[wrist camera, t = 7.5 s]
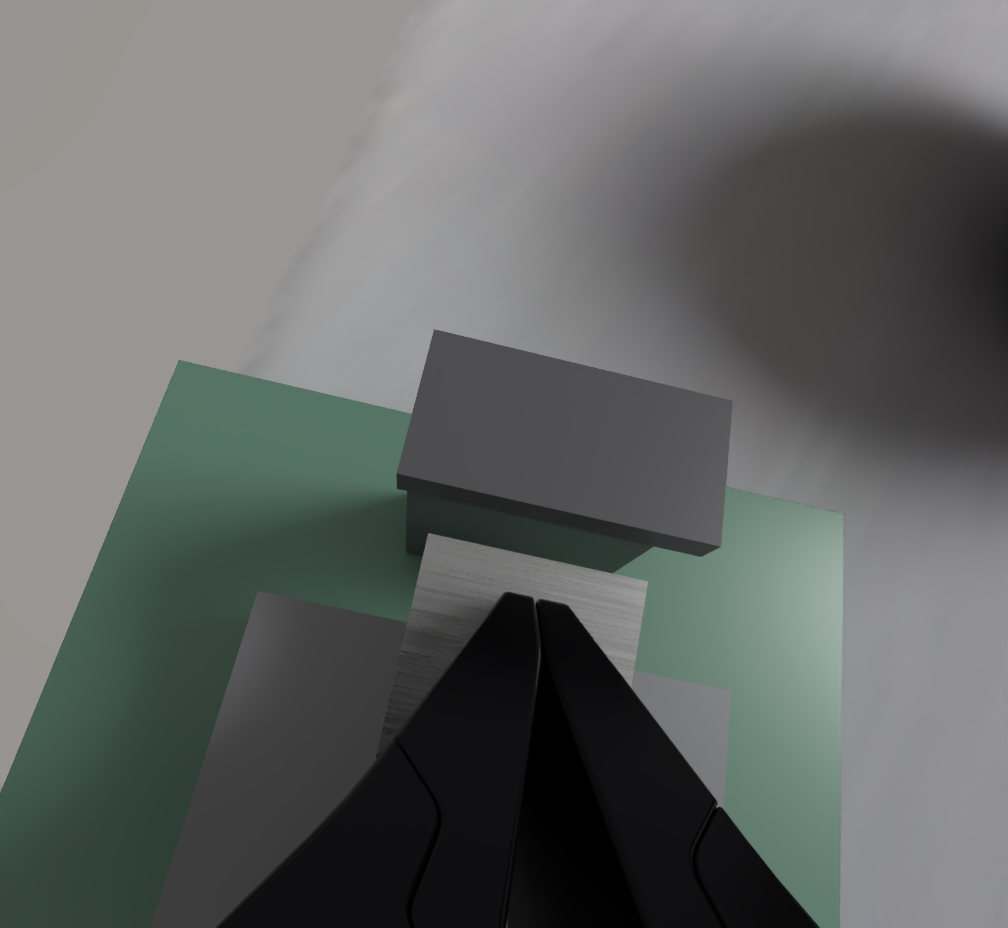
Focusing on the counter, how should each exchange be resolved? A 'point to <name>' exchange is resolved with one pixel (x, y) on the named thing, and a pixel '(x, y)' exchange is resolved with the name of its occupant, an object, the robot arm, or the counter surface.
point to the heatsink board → (343, 553)
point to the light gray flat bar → (472, 593)
